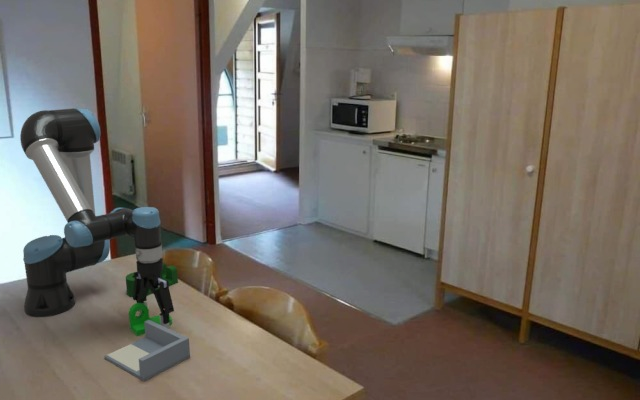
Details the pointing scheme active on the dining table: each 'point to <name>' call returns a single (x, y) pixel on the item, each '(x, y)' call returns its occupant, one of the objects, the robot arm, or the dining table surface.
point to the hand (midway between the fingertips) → (154, 327)
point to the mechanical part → (141, 318)
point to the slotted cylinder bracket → (166, 274)
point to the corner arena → (152, 352)
